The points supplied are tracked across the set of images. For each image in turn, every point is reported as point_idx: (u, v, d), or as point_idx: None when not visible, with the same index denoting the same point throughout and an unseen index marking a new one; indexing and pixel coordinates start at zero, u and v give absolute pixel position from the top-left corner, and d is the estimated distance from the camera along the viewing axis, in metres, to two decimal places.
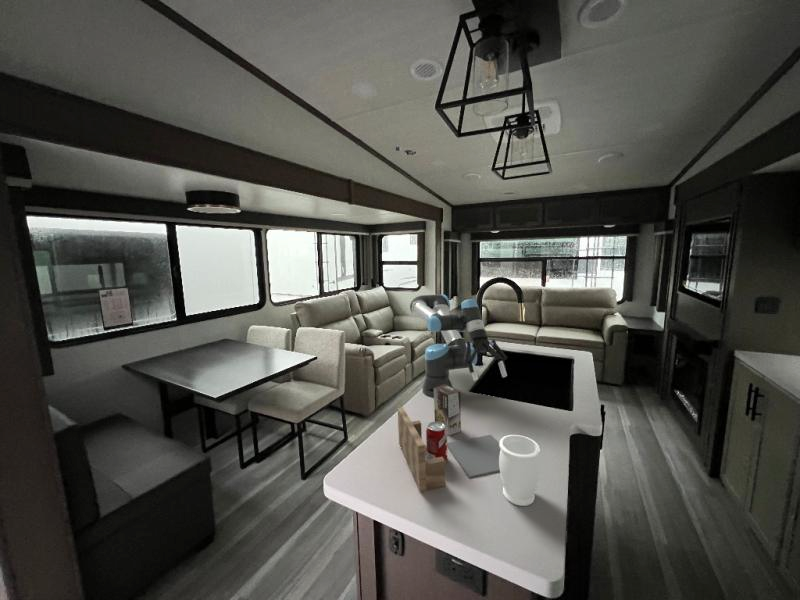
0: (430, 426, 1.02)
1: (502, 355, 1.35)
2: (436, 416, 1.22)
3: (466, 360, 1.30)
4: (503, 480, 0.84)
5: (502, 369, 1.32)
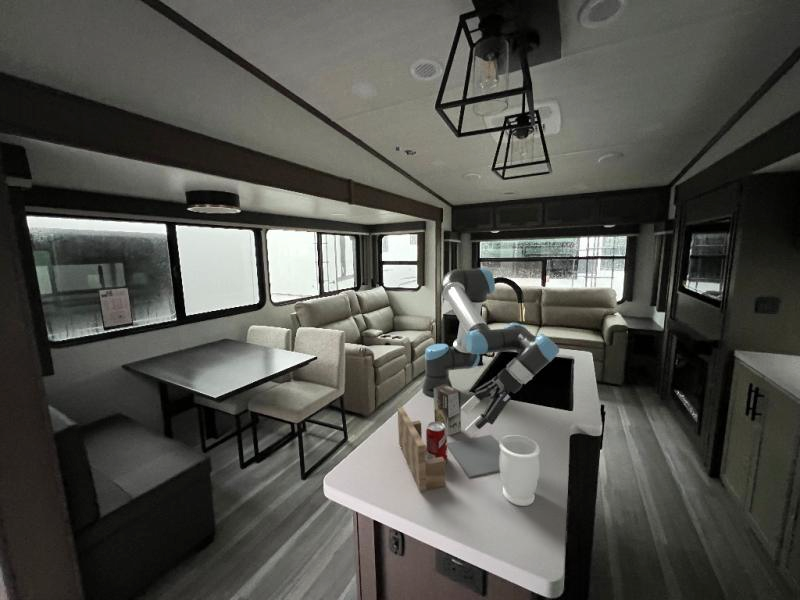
0: (430, 426, 1.02)
1: None
2: (436, 416, 1.22)
3: None
4: (503, 480, 0.84)
5: (471, 406, 1.05)
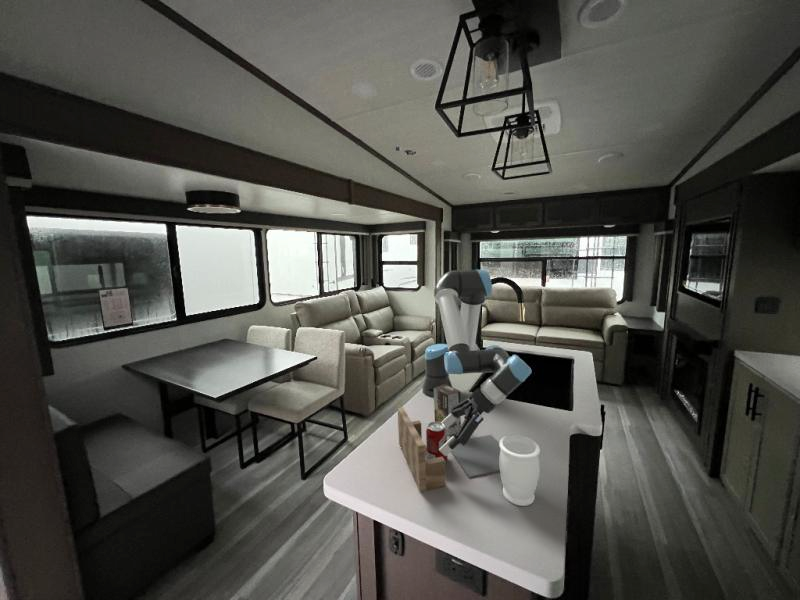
0: (430, 426, 1.02)
1: None
2: (436, 416, 1.22)
3: None
4: (503, 480, 0.84)
5: (447, 424, 1.06)
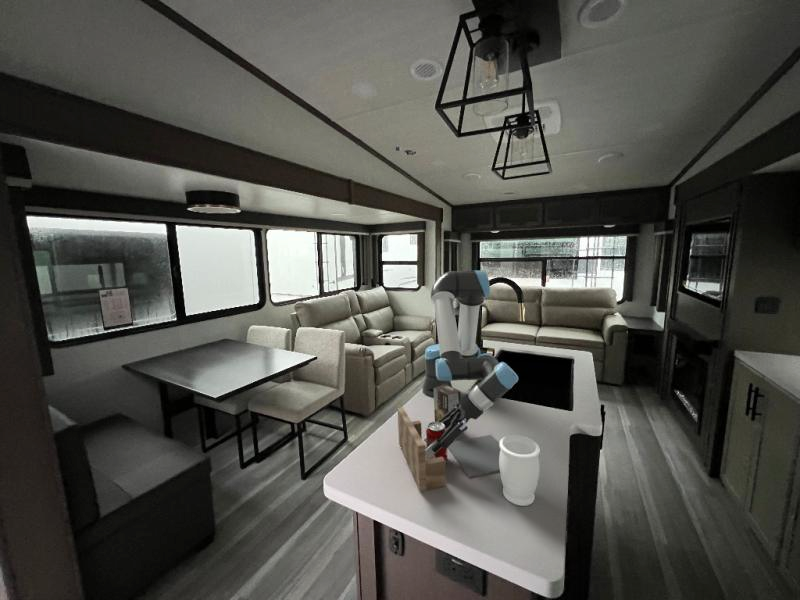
0: (430, 426, 1.02)
1: None
2: (436, 416, 1.22)
3: None
4: (503, 480, 0.84)
5: None
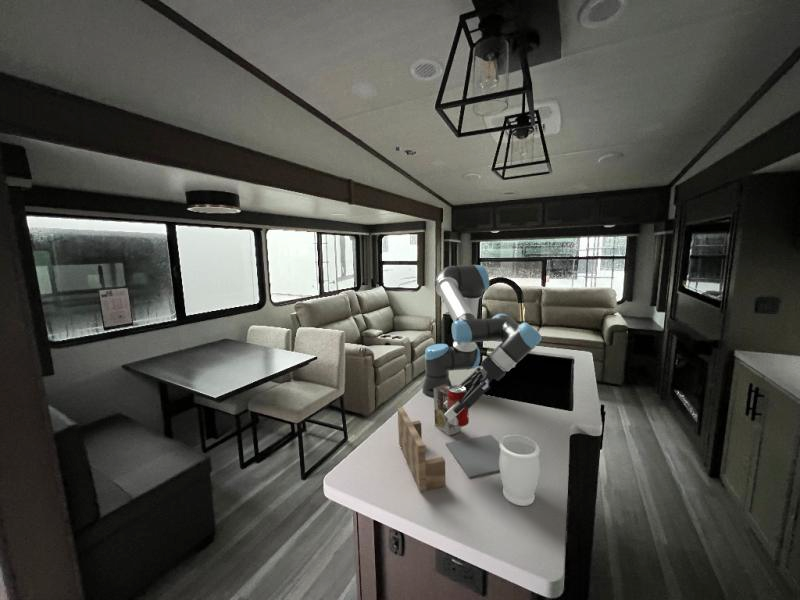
0: (451, 389, 1.01)
1: None
2: (436, 416, 1.22)
3: None
4: (503, 480, 0.84)
5: None
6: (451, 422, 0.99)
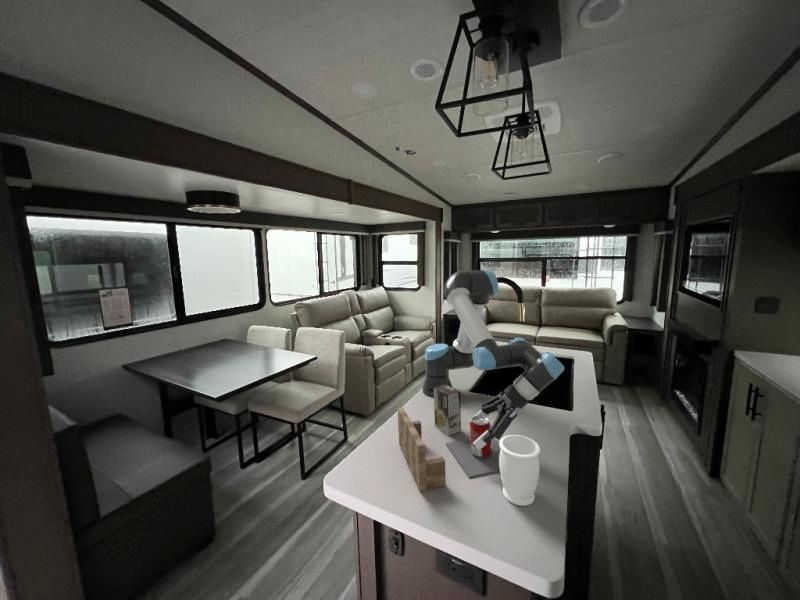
0: (474, 420, 1.03)
1: None
2: (436, 416, 1.22)
3: None
4: (503, 480, 0.84)
5: None
6: (475, 453, 1.02)
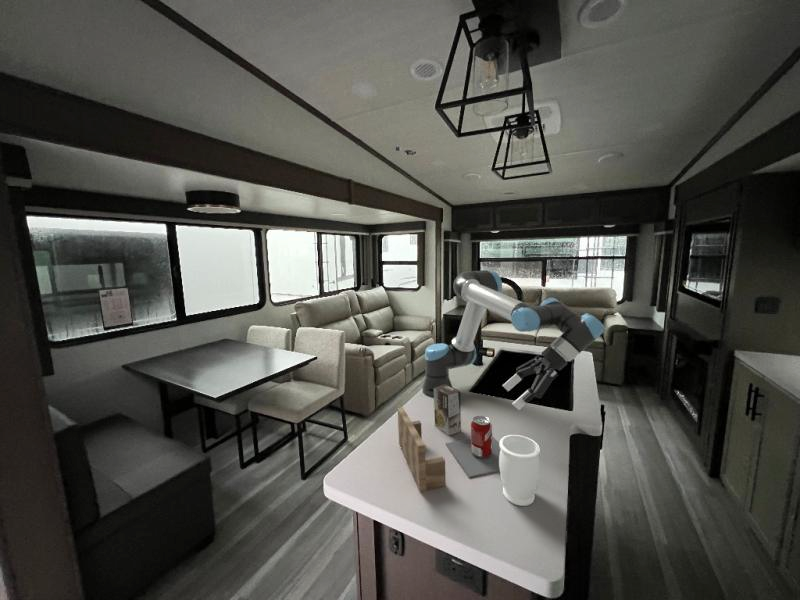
0: (475, 420, 1.03)
1: None
2: (436, 416, 1.22)
3: None
4: (503, 480, 0.84)
5: (512, 384, 1.09)
6: (475, 453, 1.02)
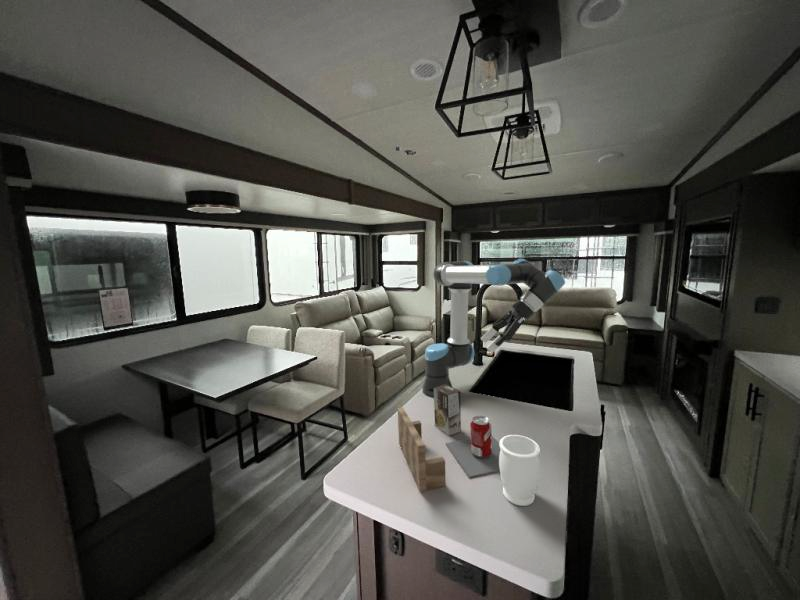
0: (474, 420, 1.03)
1: None
2: (436, 416, 1.22)
3: None
4: (503, 480, 0.84)
5: (489, 336, 1.24)
6: (475, 453, 1.02)
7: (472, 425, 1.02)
